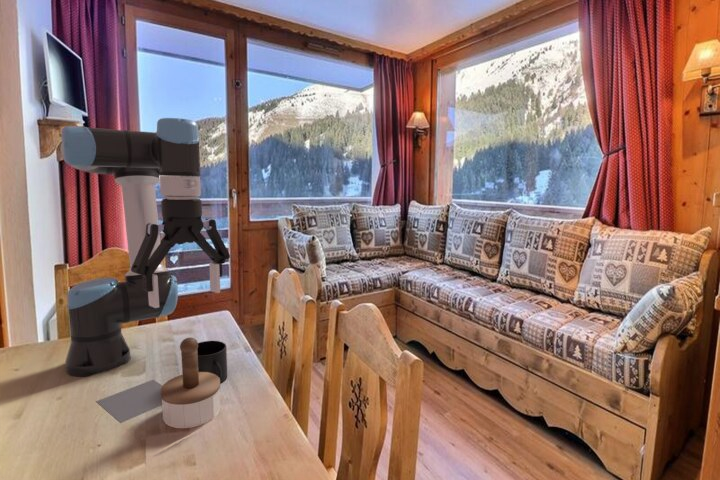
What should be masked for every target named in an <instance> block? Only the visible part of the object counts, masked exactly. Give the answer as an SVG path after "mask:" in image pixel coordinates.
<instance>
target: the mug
mask: <svg viewBox="0 0 720 480" xmlns="http://www.w3.org/2000/svg"><path fill="white" fill-rule="evenodd" d="M197 352H198V372H209V373H213V374H215V375H217V376H218V377H219V378H220V385H221V384H224V382H225V381H227V379H228V355H227V345H226V343H225V342H222V341H220V340H205V341H201V342H198V349H197Z"/></svg>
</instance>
